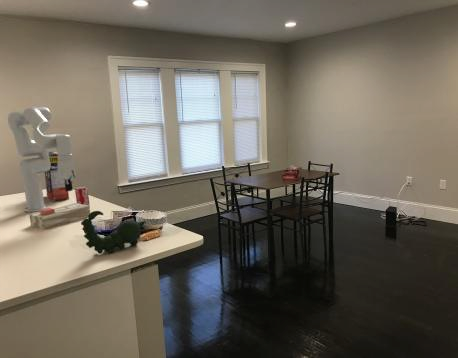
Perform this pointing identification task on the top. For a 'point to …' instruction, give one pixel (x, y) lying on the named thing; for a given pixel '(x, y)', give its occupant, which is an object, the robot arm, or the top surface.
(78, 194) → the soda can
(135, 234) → the toy figurine
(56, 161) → the cereal box
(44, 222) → the console
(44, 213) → the red plunger
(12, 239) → the top surface
